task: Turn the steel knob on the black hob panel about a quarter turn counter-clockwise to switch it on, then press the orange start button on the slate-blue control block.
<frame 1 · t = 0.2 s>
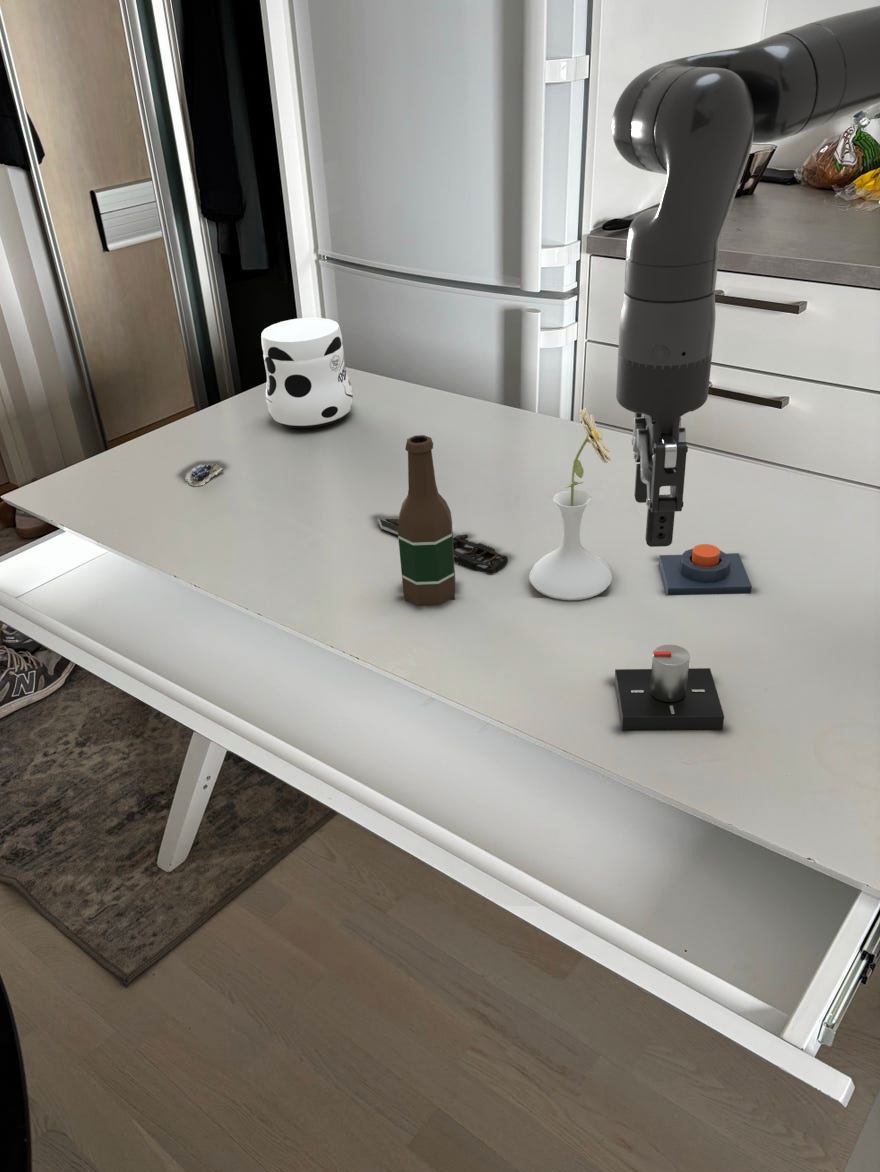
hand: (652, 521, 89), 30 cm above the table, tool pointing down, fingers open, 8 cm apart
beer bottle: (430, 599, 138), on the table
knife: (436, 547, 151), on the table
start button: (705, 555, 134), point 4 cm above the table, slide at 0.1 cm
hob knob: (669, 672, 111), point 6 cm above the table, hinge at 0.0°
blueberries: (204, 478, 179), on the table
hob panel: (665, 712, 114), on the table
flower in vase: (572, 584, 139), on the table
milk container: (312, 419, 198), on the table
button block: (703, 580, 136), on the table
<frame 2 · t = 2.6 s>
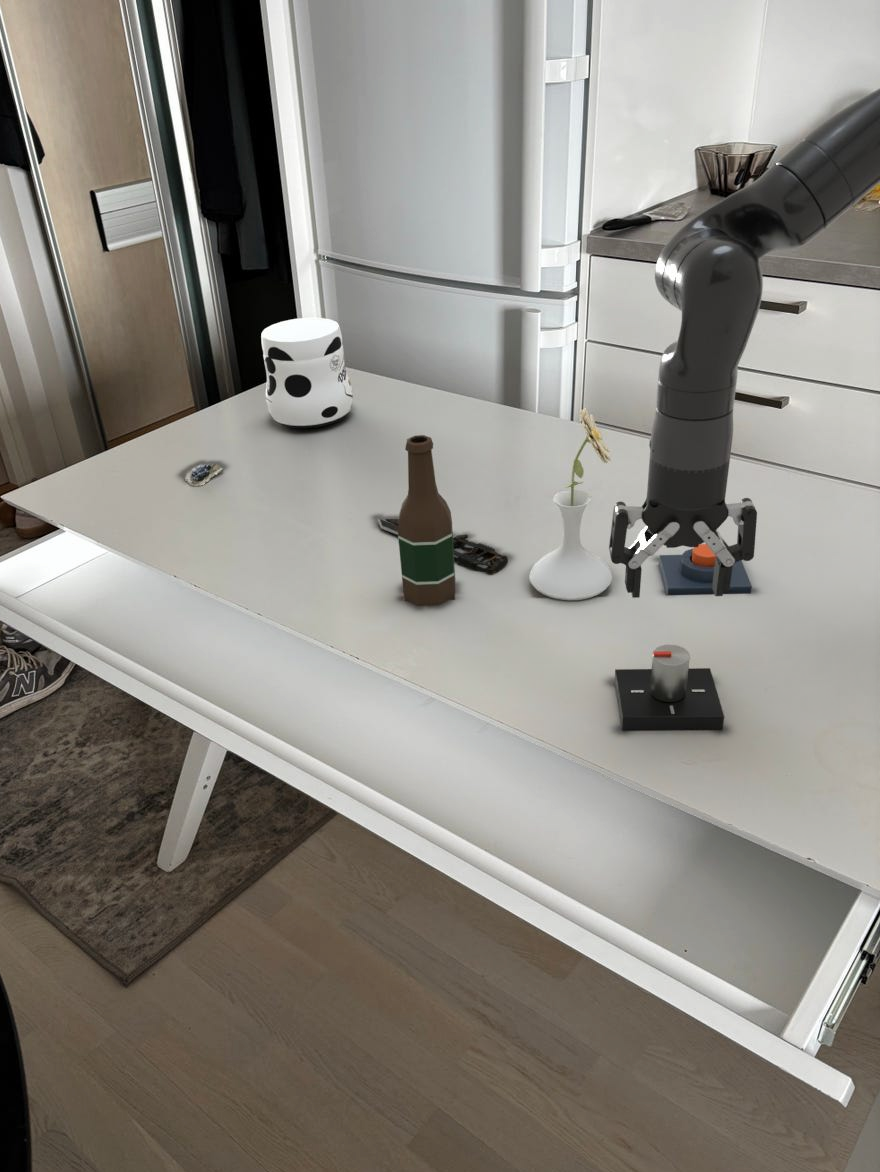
hand: (676, 593, 104), 17 cm above the table, tool pointing down, fingers open, 8 cm apart
nothing on the table moved.
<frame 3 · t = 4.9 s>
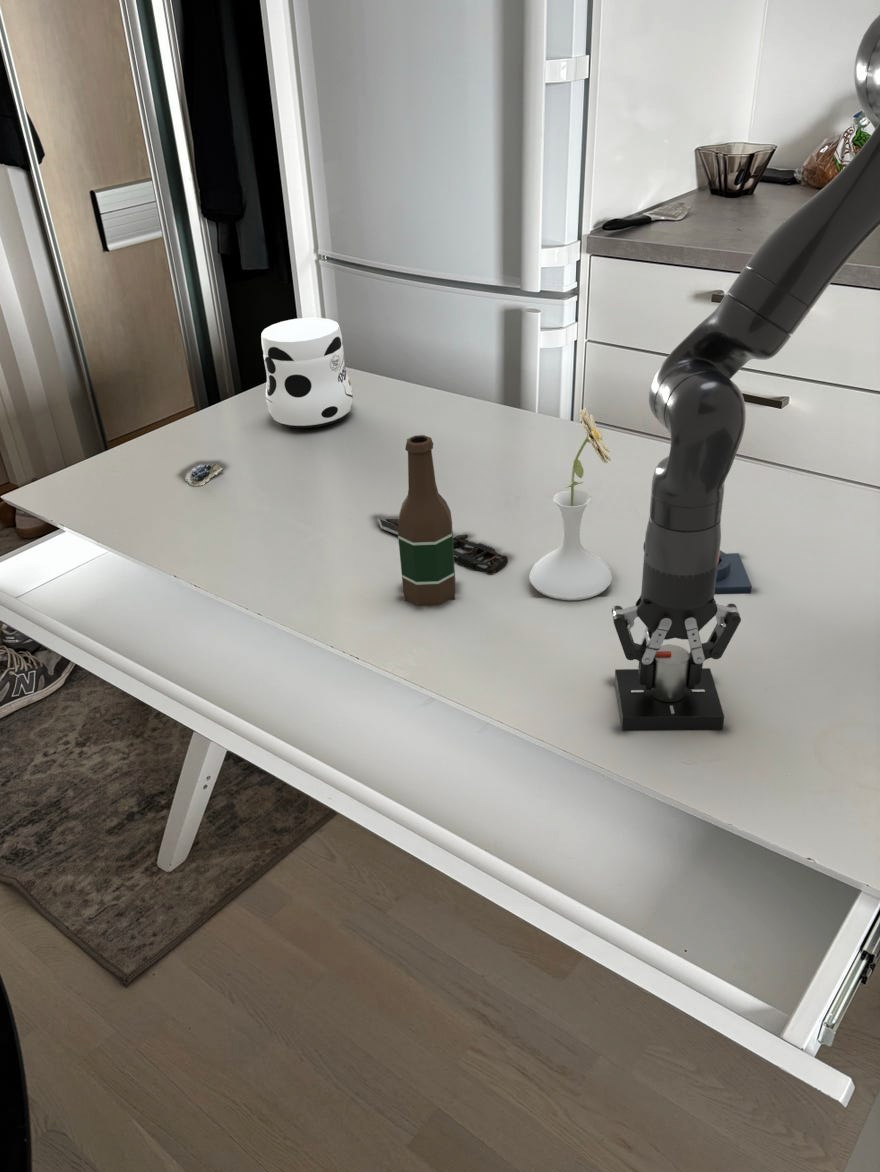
hand: (668, 684, 111), 4 cm above the table, tool pointing down, fingers closed on hob knob, 4 cm apart
hob knob: (669, 672, 111), point 6 cm above the table, hinge at 0.0°, touching gripper
everything else where it was.
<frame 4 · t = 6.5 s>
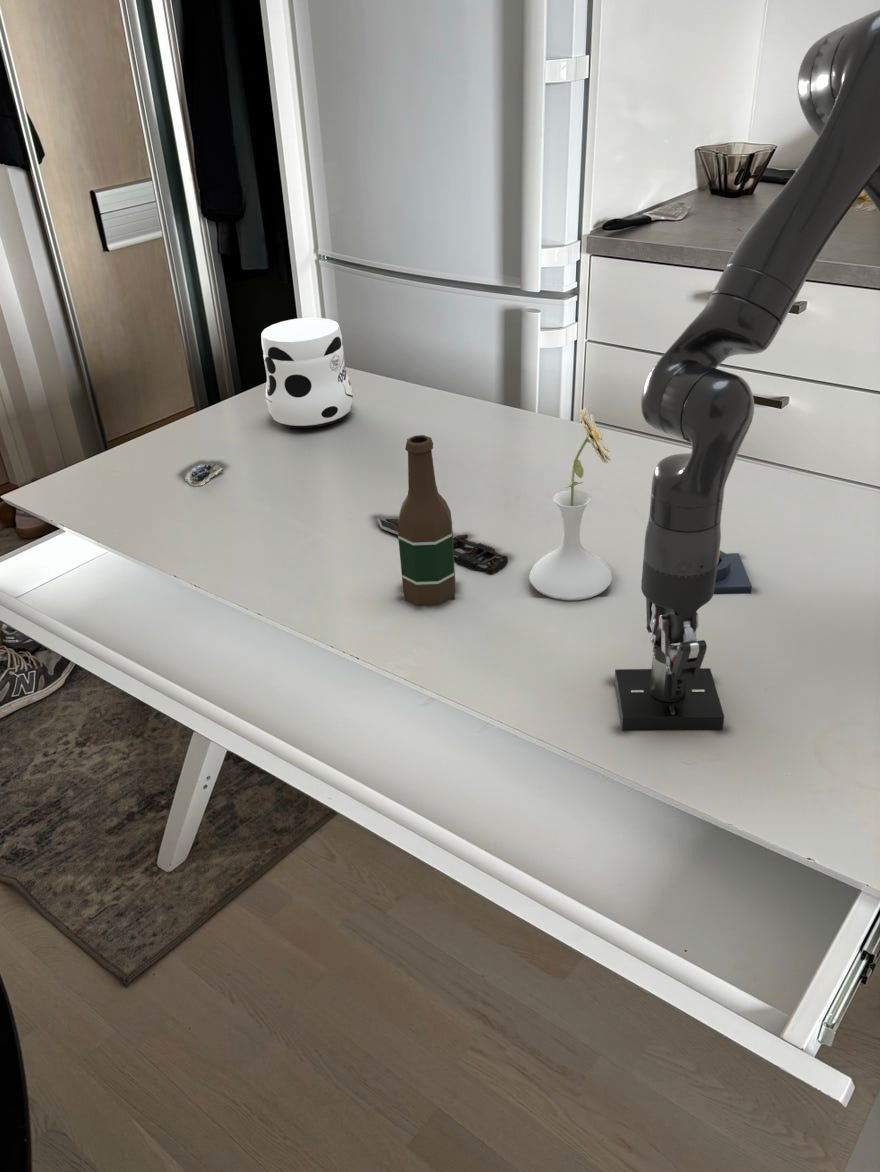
hand: (667, 684, 112), 4 cm above the table, tool pointing down, fingers closed on hob knob, 4 cm apart
hob knob: (669, 672, 111), point 6 cm above the table, hinge at 102.0°, touching gripper
everything else where it was.
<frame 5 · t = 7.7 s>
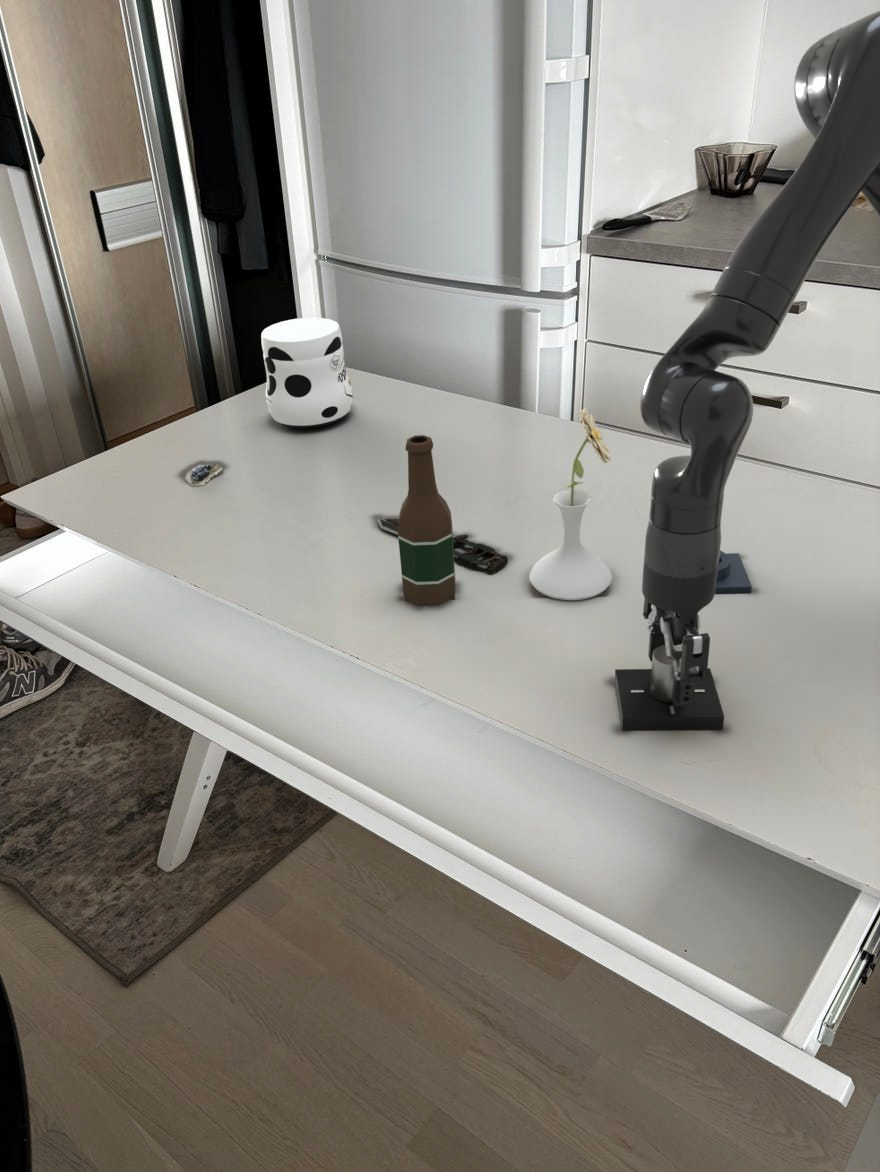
hand: (669, 680, 111), 5 cm above the table, tool pointing down, fingers open, 8 cm apart
hob knob: (669, 672, 111), point 6 cm above the table, hinge at 100.9°
everything else where it was.
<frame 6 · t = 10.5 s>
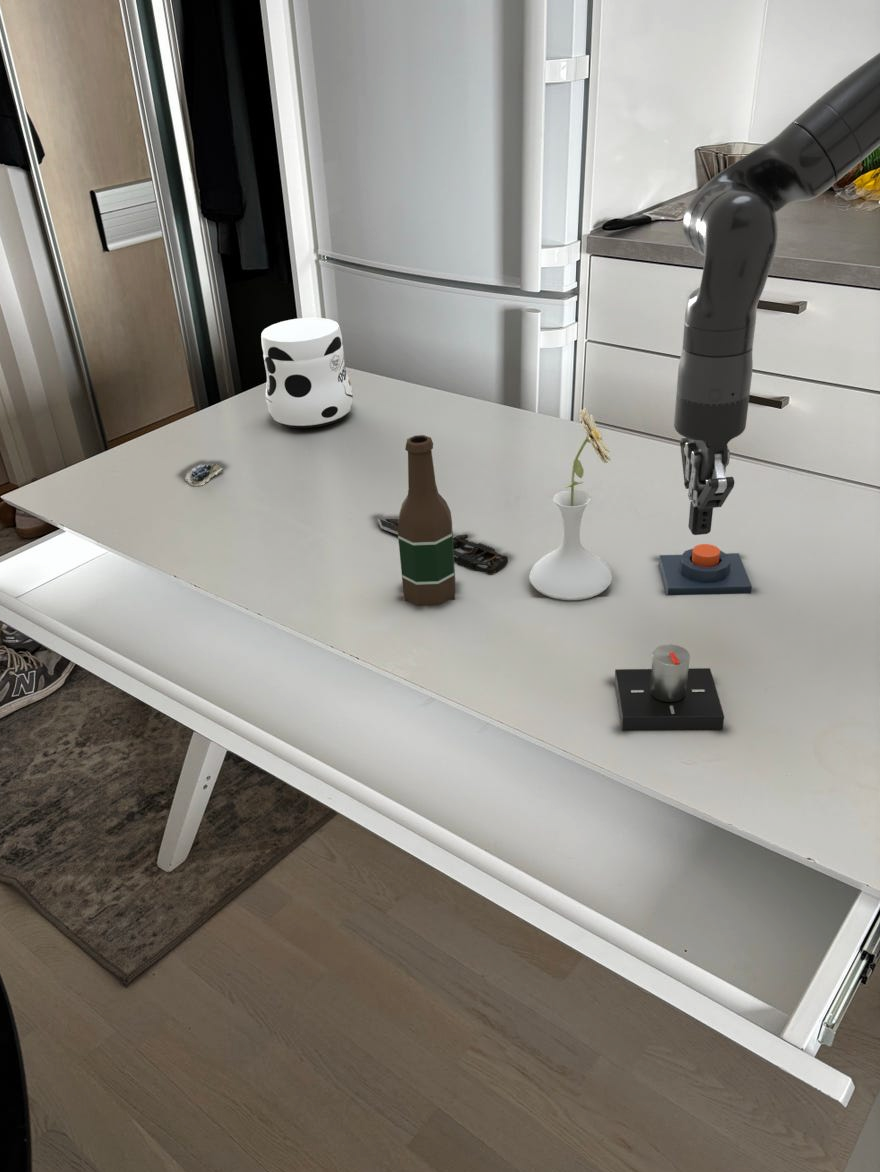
hand: (699, 531, 114), 17 cm above the table, tool pointing down, fingers closed
nothing on the table moved.
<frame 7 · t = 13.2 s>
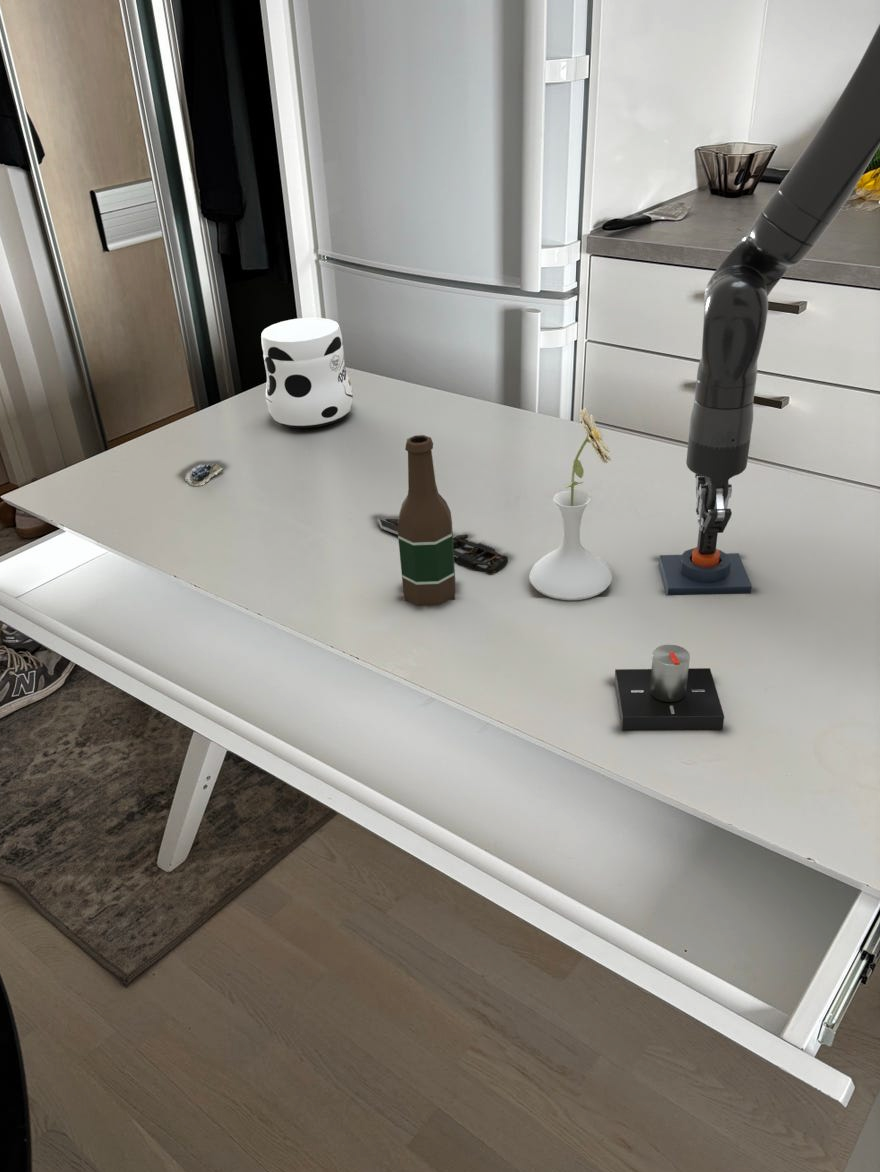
hand: (705, 551, 134), 5 cm above the table, tool pointing down, fingers closed
start button: (705, 557, 134), point 4 cm above the table, slide at -0.2 cm, touching gripper
everything else where it was.
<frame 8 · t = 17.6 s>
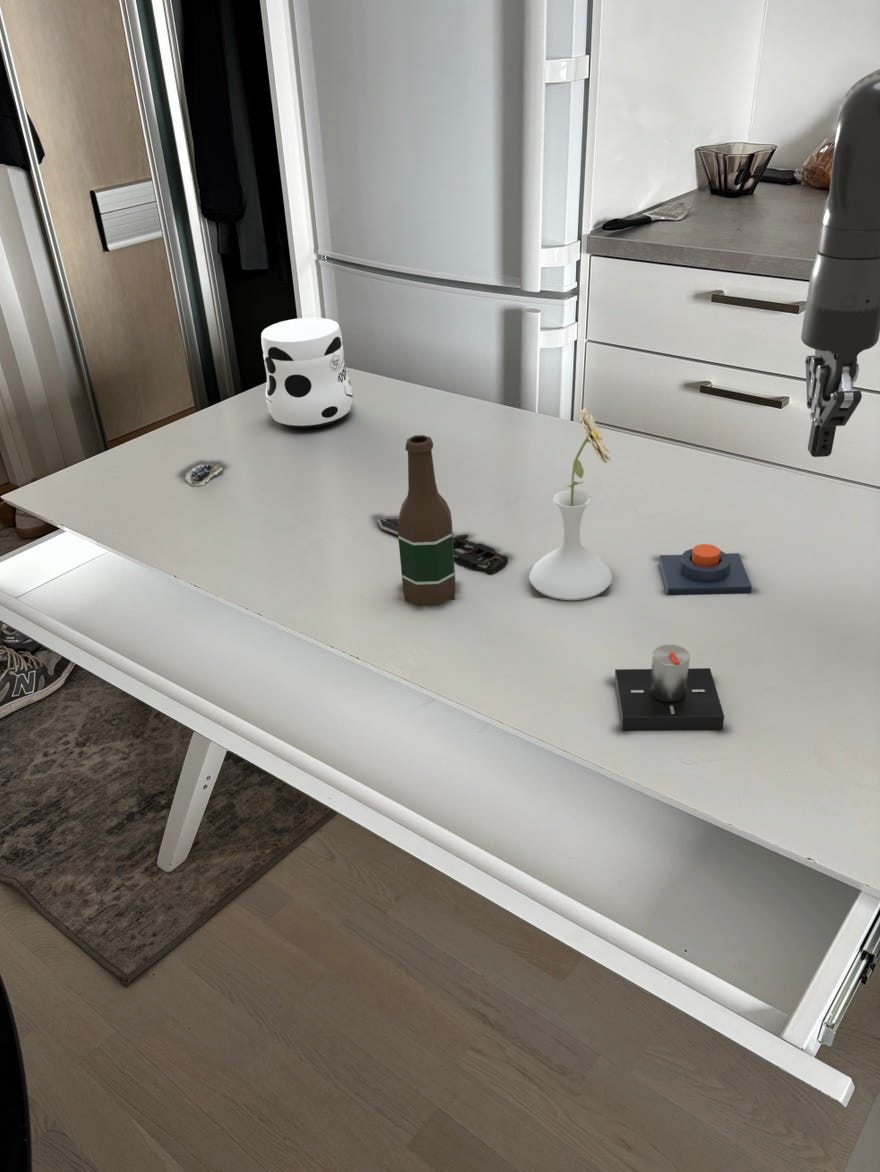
hand: (818, 453, 110), 25 cm above the table, tool pointing down, fingers closed
start button: (705, 555, 134), point 4 cm above the table, slide at 0.1 cm
everything else where it was.
at the end: hob knob at +101° (first picture: +0°); start button pushed in 1.1 cm at the most during the clip, back to where it started at the end; start button slide at 0.1 cm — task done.
